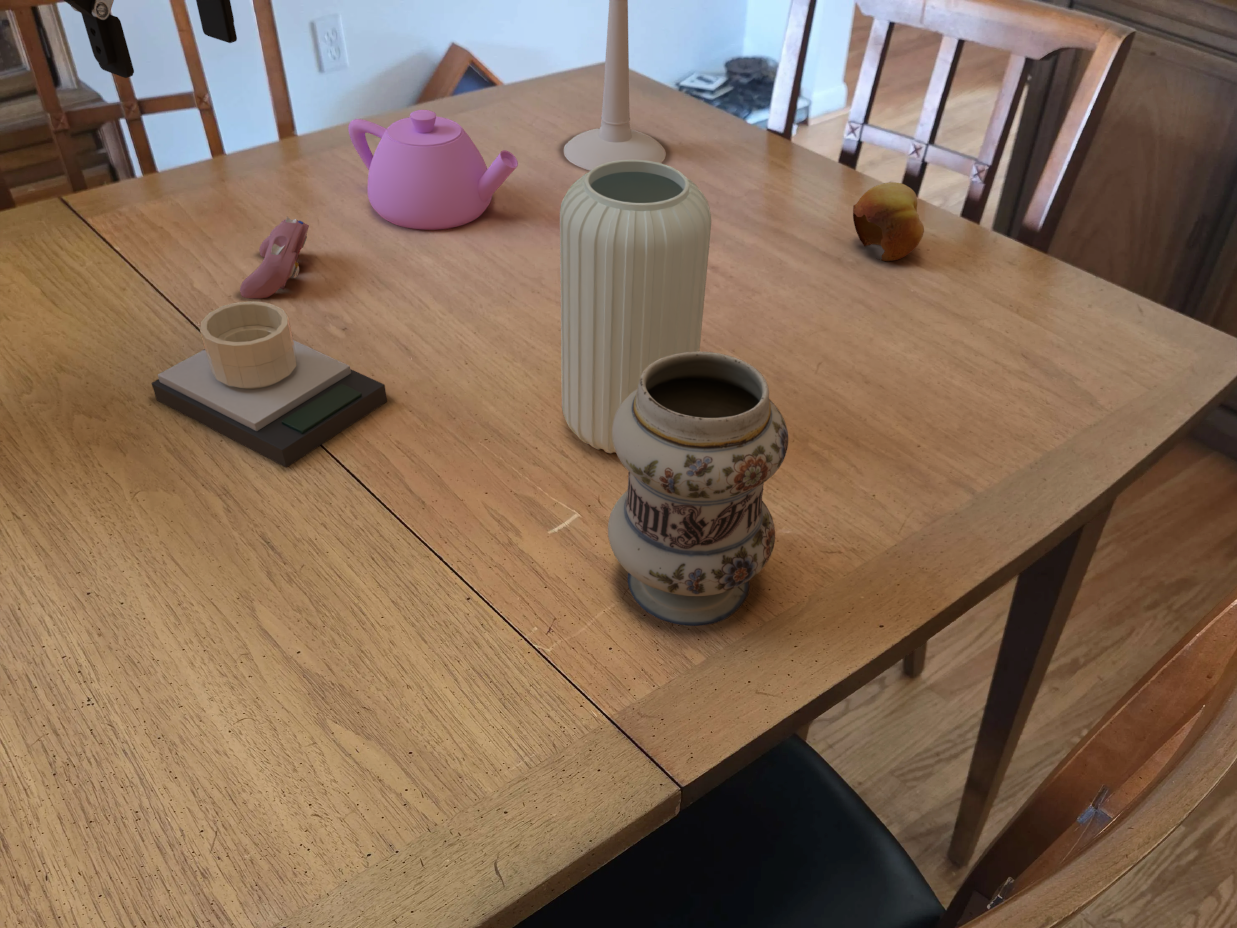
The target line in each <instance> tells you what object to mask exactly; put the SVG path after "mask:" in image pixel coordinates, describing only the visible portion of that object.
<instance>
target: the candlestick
mask: <svg viewBox="0 0 1237 928" xmlns="http://www.w3.org/2000/svg"><path fill="white" fill-rule="evenodd" d="M607 13H608V15H607V29H606V44H605V45H606V46H605V61H604V76H603V92H602V105H601V116H600V120H601V121H600V127H597V128H593V129H589V130H585V131H582V132H581V133H578V134H577V135H575V136H574V137H572V138H571V139H570V140H568V141H567V142H566V143H565V145H564V147H563V155H564V157H565V158H566V160H568V161H569V162H570V164H573V165H575V166H577V167H579V168H581V169H584V170H586V171H591V170H592V169H594V168H595V167H597V166H599V165H602V164H605V163H608V162H612V161H619V160H646V161H653V162H658V163H662V164H663V162H664V161H665V159H666V157H667V153H666V149H665V148H664V147H663V146H662V144H661V143H660V142H659V141H658V140H656V139H655V138H653V137H652V136H650V135H648V134H646V133H644V132H641V131H639V130H635V129H632V128H631V122H630V121H631V117H630V112H631V111H630V63H629V62H630V55H629V54H630V53H629V0H608V12H607Z"/></svg>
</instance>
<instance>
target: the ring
mask: <svg viewBox="0 0 1237 928" xmlns="http://www.w3.org/2000/svg"><path fill="white" fill-rule="evenodd" d="M199 332H200V335H201V339H202V343H203V346H204V349H205V350H206V354H207V358H208V361H209V365H210V369H211V372H212V374H213V375H214V376H215V378H216V379H217V380H218V381H220V382H222V383H224V384H226V385H229V386H234V387H238V388H244V389H256V388H263V387H267V386H270V385H273V384H275V383H277V382H279V381H281V380H282V379H284V378H285V377H287V376H289V375H290V374H291V372H292V371H293V370H294V369H295V367H296V366H297V356H296V351H295V346H294V342H293V340H294V338H293V332H292V328H291V323H290V318H289V315H288V314H287V312H286V311H285V310H284V309H283V308H282V307H280V306H277V305H276V304H273V303H270V302H265V301H258V300H247V301H237V302H233V303H228V304H225V305H221V306H220V307H217V308H215V309H214V310H212V311H209V312H208V313H207V314H206V315H205V316H204V317H203V318H202V319H201V320H200V326H199Z"/></svg>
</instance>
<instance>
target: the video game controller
mask: <svg viewBox="0 0 1237 928" xmlns="http://www.w3.org/2000/svg"><path fill="white" fill-rule="evenodd" d="M309 227H310V224H308V223H305V222H304V221H302V220H298V219H297V218H295V219H291V218H290V217H289V216H286V218H285V219H283V220H282V221H281V222H280V223H279V224H278V225H276V226H275V227H274V228H273V229H272V230H271V231H270V233H269V235H268V236H267V237H266V238H264V239H263V241H262V242H261V244H260V246H259V254H260V257H262V258H263V260H262V261H261V263H260V264H259V266H258V267H256V269H254V270H253V272H252V273H250V274H249V275H248V276H246V277H245V278H244V279H243V280H242V283H241V284H240V287H239V291H240V292H239V293H240V296H241V297H242V298H246V299H252V300H253V299H255V300H257V299H267V298H270V297H271V296H273V295H274V294H275V293H276V292H278V290H279V289H282V290H284V289H285V288H286V287H285V286H286V284H287V282H288V281H289V279H290V278H291V277H292V276H293V279H295V278H296V277H298V276H299V273H300V266H299V263H298V261H297V260H298V257H299V255H300V252H301V250H302V249H304V246H305V244H306V241H307V239H308V236H307V235H308V231H309Z"/></svg>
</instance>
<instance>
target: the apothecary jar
mask: <svg viewBox="0 0 1237 928" xmlns="http://www.w3.org/2000/svg"><path fill="white" fill-rule="evenodd" d="M788 431H789V430H788V426H787V424H786V421H785V419H784V417H783V414H782V412H781V411H780V410H779V408H778V407H777V406H776V405H775V403H774V402H773V401H772V400H771V399H770V389H769V384H768V381H767V380H766V377H765V376H764V375H763V374H762V373H761V371H760V370H758V368H756V367H755V366H753V365H752V364H750V363H748V362H746V361H745V360H742V359H740V358H737V357H735V356H732V355H729V354H725V353H720V352H713V351H700V352H685V353H679V354H674V355H670V356H666V357H664V358H661V359H658V360H657V361H655V362H653V363H652V364H650V365H649V366H648V367H647V368H646V369H645V370H644V371H643V373H642V375H641V377H640V380H639V384H638V389H636V390H635V391H634V392H632V393H631V394H630V395H629V396H628V397H627V398H626V399H625V400H624V401H623V403H622V404H621V405H620V407H619V409H618V410H617V412H616V414H615V417H614V420H613V425H612V439H613V444H614V448H615V451H616V456H617V458H618V460H619V462H620V463H621V464H622V466H623V467H624V468H625V470H627V471H628V475H627V490H626V491H624V492H623V493H622V495H620V497H619V498H618V499H617V500H616V502H615V504H614V506H613V508H612V509H611V512H610V514H609V517H608V521H607V522H608V524H607V538H608V542H609V545H610V549H611V551H612V553H613V555H614V557H615V560H617V562H618V563H619V564H620V566H621V567H622V568H623V569H624V570H625V571H626V572H627V586H628V589H629V593H630V594H631V596H632V598H633V600H634V601H635V602H636V604H638V605H639V607H640V608H642V609H643V610H644V611H645V612H646V613H648V614H649V615H651V616H653V617H655V618H656V619H658V620H661V621H664V622H667V623H670V624H674V625H680V626H685V627H686V626H687V627H701V626H708V625H713V624H716V623H719V622H722V621H724V620H726V619H728V618H729V617H731V616H732V615H734V614H735V613H736V612H737V611H739V609H741V607H742V606H744V603H745V602H746V601H747V599H748V597H749V594H750V590H751V582H750V581H751V580H752V579H753V578H754V577H756V576H757V575H758V574H759V573H760V572H761V571H762V570H763V569H764V567H765V566H766V565H767V564H768V562H769V560H770V558H771V556H772V554H773V550H774V547H775V543H776V528H775V523H774V519H773V517H772V514H771V512H770V509H769V508H768V506H767V505H766V503H765V502H764V500H763V495H764V494H763V493H764V483H766V482H767V481H768V480H770V478H772V476H774V475H775V474H776V473H777V471H778V470H779V469H780V467H781V466H782V464H783V462H784V460H785V458H786V456H787V453H788V448H789V432H788Z"/></svg>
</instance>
